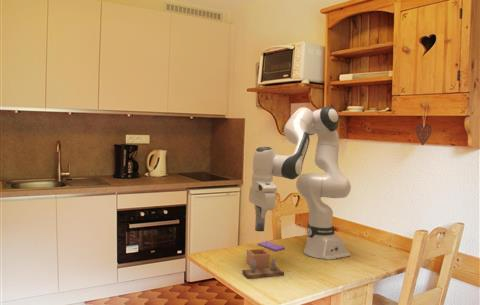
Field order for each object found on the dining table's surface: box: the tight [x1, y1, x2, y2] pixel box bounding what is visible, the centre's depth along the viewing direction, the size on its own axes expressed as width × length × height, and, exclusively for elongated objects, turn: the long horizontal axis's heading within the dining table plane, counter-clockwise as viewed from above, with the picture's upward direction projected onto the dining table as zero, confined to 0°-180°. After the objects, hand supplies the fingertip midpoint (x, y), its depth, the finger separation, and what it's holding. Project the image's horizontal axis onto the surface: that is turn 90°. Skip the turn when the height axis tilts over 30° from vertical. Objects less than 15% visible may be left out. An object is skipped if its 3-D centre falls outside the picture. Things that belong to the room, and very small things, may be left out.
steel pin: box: [254, 207, 266, 232], centre depth 174 cm, size 4×4×10 cm
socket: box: [245, 248, 271, 269], centre depth 175 cm, size 8×8×6 cm
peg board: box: [241, 258, 285, 280], centre depth 164 cm, size 16×6×6 cm, turn 111°
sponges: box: [257, 240, 286, 253], centre depth 202 cm, size 7×13×2 cm, turn 42°
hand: (260, 216), depth 173 cm, fingers closed on steel pin, 4 cm apart
